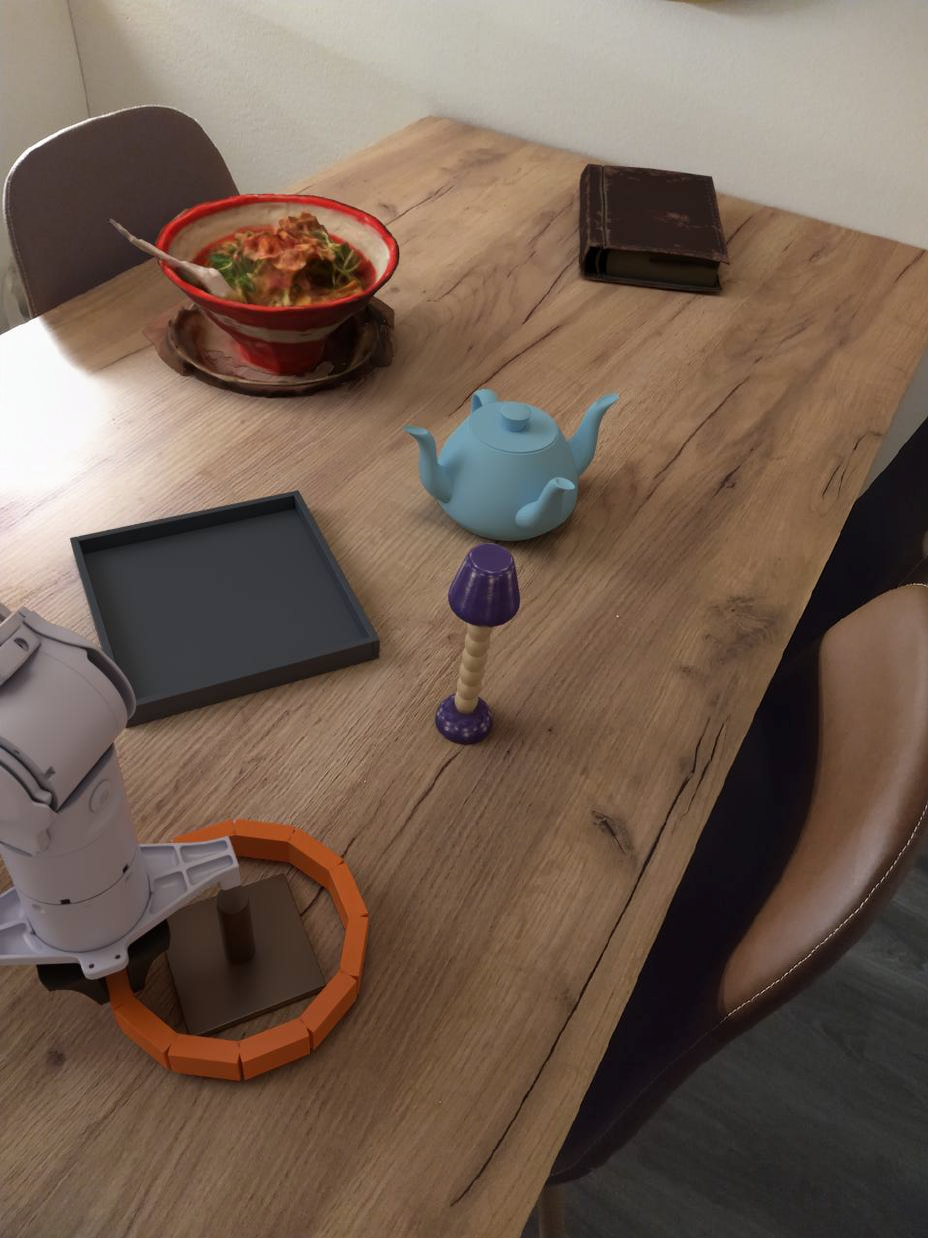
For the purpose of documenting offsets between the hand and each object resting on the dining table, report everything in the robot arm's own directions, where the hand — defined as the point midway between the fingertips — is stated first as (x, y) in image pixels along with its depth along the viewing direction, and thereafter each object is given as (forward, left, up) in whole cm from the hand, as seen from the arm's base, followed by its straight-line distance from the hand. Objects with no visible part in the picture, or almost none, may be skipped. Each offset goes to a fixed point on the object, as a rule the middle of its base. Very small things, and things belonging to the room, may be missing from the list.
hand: (118, 981), depth 57 cm
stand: (+7, 0, -2) cm, 7 cm away
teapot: (+41, +32, -2) cm, 52 cm away
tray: (+14, +29, -2) cm, 32 cm away
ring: (+7, 0, -1) cm, 7 cm away
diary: (+83, +75, -2) cm, 113 cm away
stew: (+29, +64, -2) cm, 70 cm away
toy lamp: (+27, +11, -2) cm, 29 cm away
